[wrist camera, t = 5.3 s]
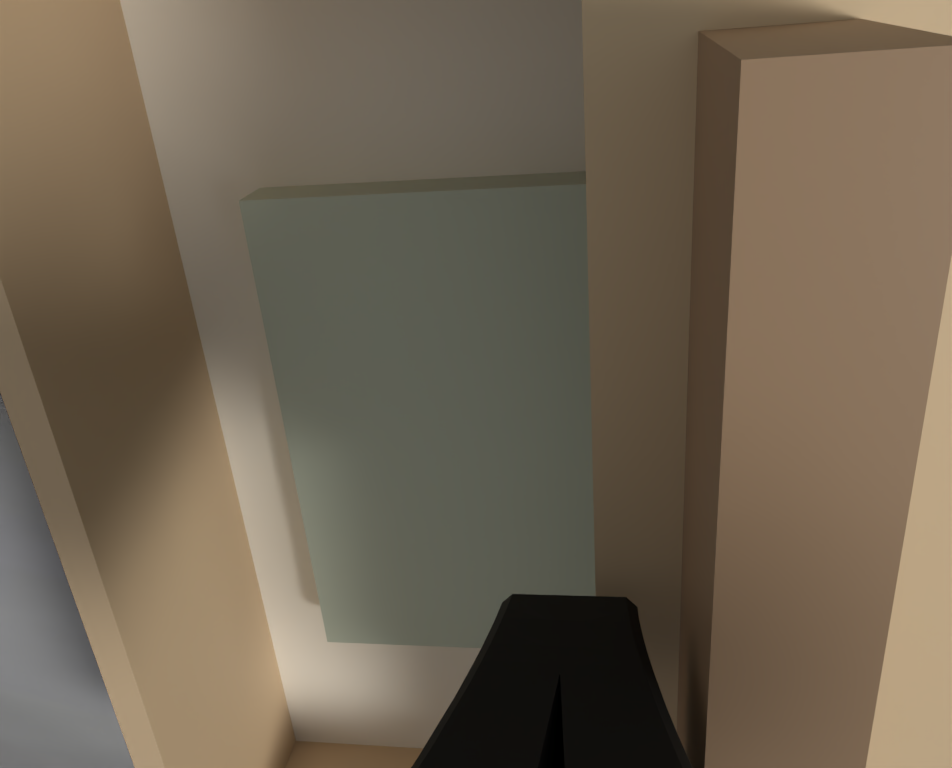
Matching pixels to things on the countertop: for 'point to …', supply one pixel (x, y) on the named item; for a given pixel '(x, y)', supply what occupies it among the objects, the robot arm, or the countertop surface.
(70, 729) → the countertop surface
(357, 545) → the mailer base
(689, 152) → the mailer lid
